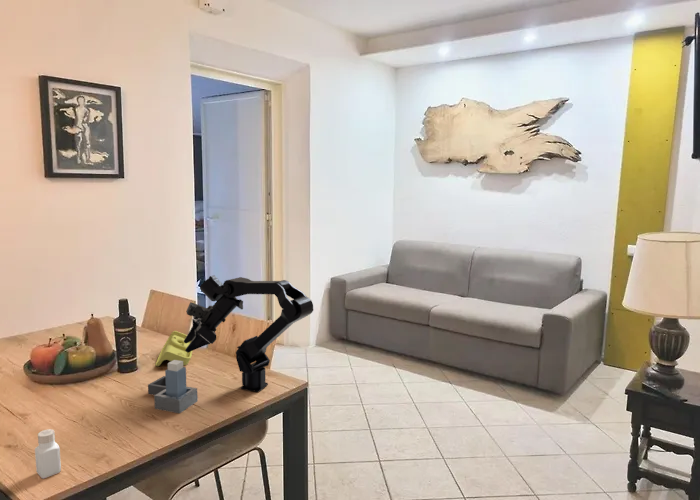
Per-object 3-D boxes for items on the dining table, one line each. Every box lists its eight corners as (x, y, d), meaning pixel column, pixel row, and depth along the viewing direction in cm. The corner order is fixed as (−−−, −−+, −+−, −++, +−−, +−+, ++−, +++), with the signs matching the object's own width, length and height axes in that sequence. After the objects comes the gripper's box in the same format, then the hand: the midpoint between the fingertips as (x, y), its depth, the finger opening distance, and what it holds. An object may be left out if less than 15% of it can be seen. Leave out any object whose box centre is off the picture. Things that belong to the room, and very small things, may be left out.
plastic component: (190, 359, 176) (163, 349, 173) (181, 377, 176) (154, 368, 174) (195, 338, 195) (170, 328, 192) (187, 354, 195) (162, 345, 192)
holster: (183, 388, 157) (183, 379, 157) (168, 397, 150) (168, 388, 150) (164, 384, 159) (163, 375, 159) (148, 394, 152) (147, 384, 152)
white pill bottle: (41, 480, 108) (38, 439, 107) (35, 473, 111) (32, 432, 110) (62, 472, 111) (59, 432, 110) (55, 465, 114) (52, 426, 113)
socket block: (197, 401, 148) (197, 387, 147) (179, 413, 140) (179, 398, 140) (173, 397, 151) (173, 383, 150) (154, 408, 143) (154, 394, 142)
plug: (186, 403, 147) (185, 360, 145) (178, 408, 143) (176, 365, 141) (175, 401, 148) (173, 359, 146) (166, 406, 144) (165, 363, 142)
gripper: (199, 288, 166) (165, 323, 164) (204, 300, 149) (166, 340, 146) (224, 309, 170) (191, 343, 168) (231, 324, 153) (194, 362, 150)
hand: (185, 347), depth 158 cm, fingers open, 9 cm apart
